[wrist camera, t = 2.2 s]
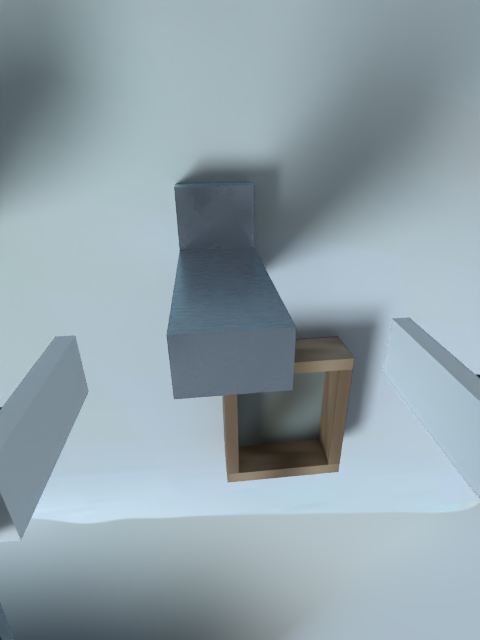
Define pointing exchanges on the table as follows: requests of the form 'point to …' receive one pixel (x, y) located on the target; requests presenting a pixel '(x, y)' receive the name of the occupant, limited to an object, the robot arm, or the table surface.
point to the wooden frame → (292, 418)
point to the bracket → (225, 300)
